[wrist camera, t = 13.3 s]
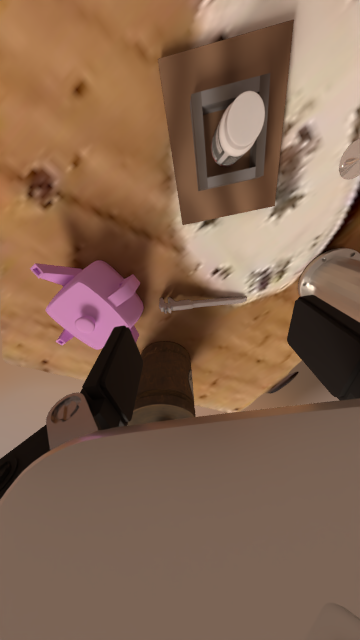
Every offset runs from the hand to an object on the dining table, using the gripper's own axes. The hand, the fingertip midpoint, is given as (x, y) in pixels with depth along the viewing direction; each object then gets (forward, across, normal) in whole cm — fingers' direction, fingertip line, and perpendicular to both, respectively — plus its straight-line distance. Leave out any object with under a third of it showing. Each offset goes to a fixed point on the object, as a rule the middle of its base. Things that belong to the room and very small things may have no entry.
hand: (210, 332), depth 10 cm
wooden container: (+29, +11, +30) cm, 43 cm away
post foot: (+28, -8, -13) cm, 32 cm away
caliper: (+29, -2, +12) cm, 31 cm away
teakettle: (+29, +20, +7) cm, 36 cm away
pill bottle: (+27, -8, -13) cm, 31 cm away
